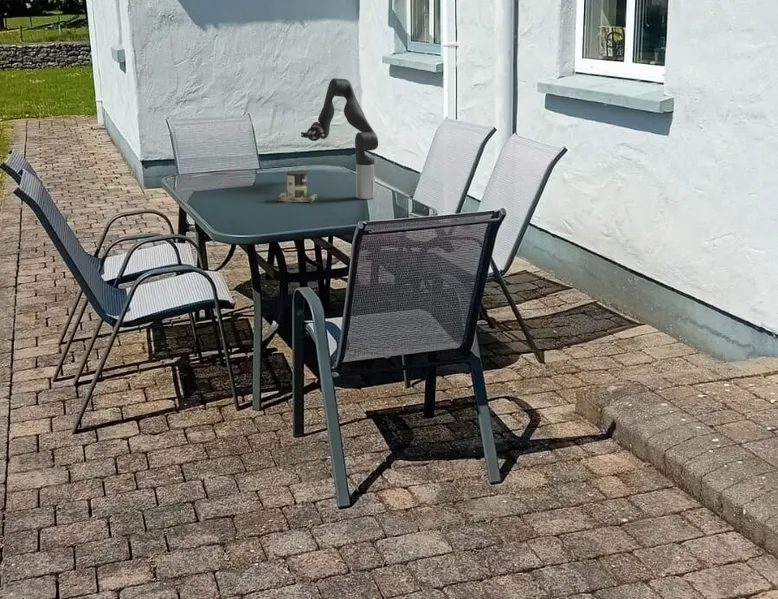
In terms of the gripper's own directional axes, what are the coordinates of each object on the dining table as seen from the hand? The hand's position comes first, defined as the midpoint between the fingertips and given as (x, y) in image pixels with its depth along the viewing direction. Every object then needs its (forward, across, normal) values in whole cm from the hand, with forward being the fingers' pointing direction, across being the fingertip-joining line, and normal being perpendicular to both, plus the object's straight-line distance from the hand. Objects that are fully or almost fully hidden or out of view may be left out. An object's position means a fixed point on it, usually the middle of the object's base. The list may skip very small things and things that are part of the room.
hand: (309, 136), depth 508 cm
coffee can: (+22, -3, +30) cm, 38 cm away
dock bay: (+22, -3, +30) cm, 37 cm away
